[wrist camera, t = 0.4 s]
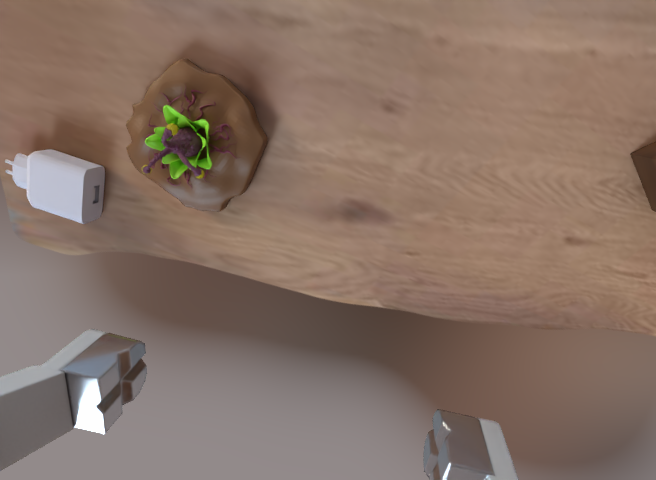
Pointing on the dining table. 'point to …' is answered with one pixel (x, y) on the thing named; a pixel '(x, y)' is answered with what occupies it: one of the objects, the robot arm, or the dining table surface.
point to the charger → (61, 184)
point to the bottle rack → (647, 171)
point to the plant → (196, 137)
